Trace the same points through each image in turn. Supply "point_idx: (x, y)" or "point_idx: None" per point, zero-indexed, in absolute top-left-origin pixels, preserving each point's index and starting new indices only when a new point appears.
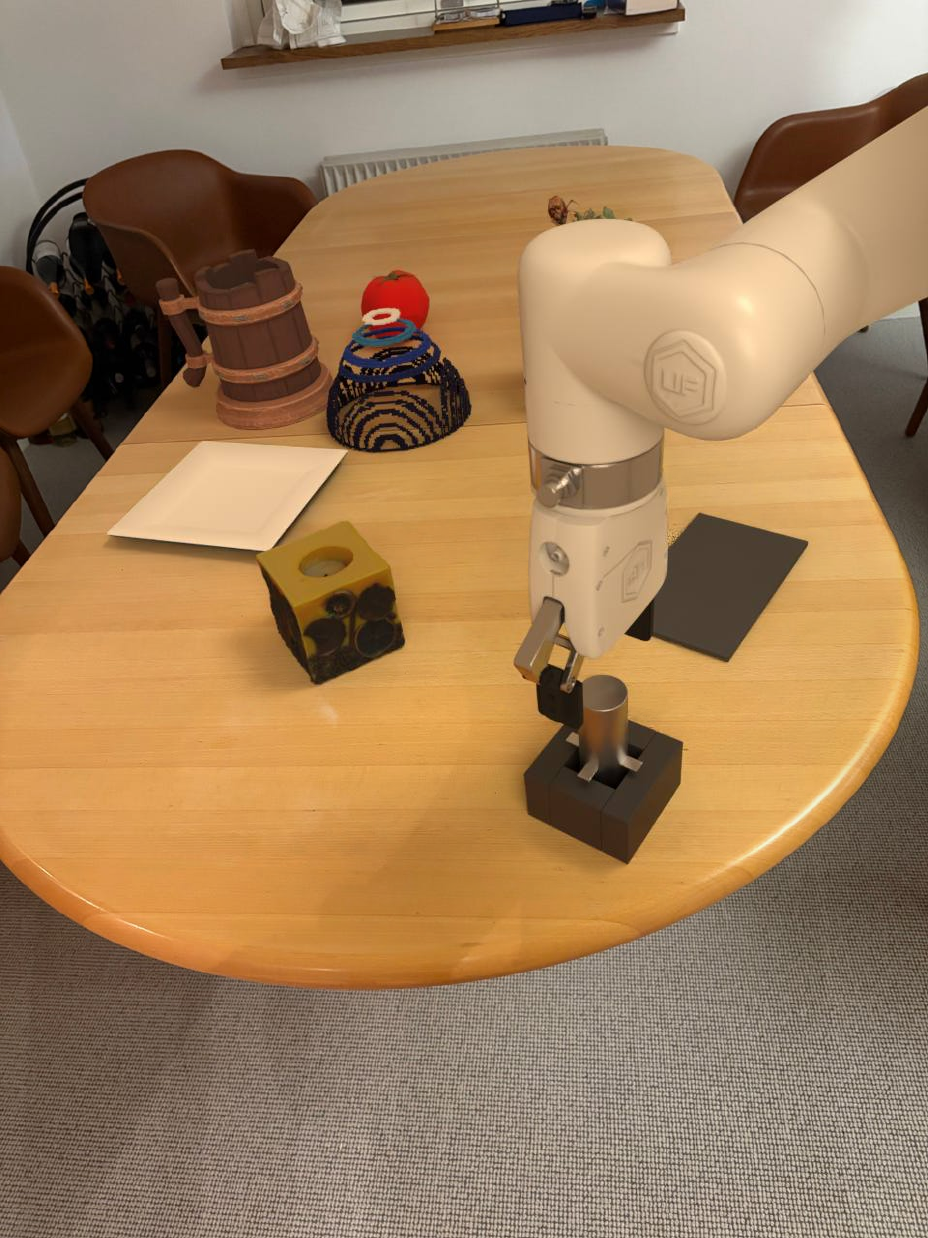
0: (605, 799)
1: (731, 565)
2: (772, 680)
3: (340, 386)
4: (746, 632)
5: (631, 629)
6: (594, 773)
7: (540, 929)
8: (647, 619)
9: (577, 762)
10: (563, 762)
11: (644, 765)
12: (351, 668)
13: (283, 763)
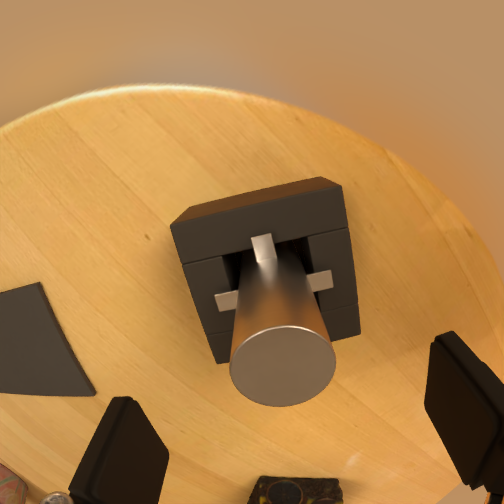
0: (330, 235)
1: None
2: (24, 234)
3: None
4: (9, 291)
5: (145, 438)
6: (315, 273)
7: (429, 195)
8: (112, 447)
9: None
10: None
11: (244, 235)
12: (309, 479)
13: (406, 441)
